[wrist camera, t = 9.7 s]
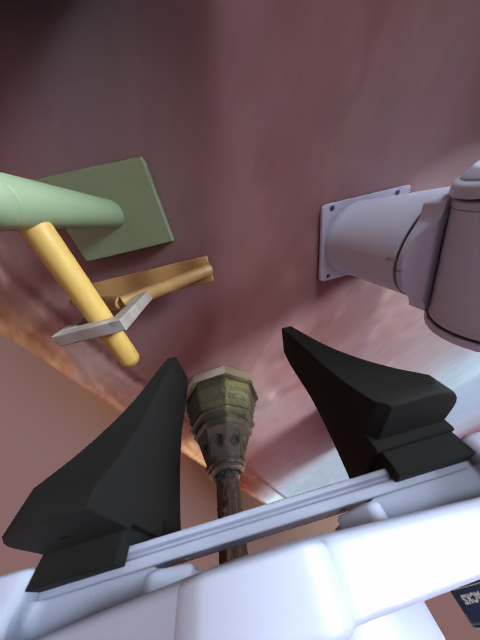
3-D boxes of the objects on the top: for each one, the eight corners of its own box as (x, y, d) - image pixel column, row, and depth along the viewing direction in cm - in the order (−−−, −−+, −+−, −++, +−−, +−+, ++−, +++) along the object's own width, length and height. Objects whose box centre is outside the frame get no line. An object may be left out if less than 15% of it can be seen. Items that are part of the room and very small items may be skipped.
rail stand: (145, 160, 14) (-16, -6, 4) (196, 300, 20) (185, 374, 10) (46, 182, 14) (-407, 65, 4) (129, 317, 20) (49, 411, 10)
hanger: (209, 254, 16) (205, 282, 9) (216, 278, 18) (218, 322, 10) (70, 288, 16) (-61, 347, 9) (86, 310, 18) (-15, 379, 10)
